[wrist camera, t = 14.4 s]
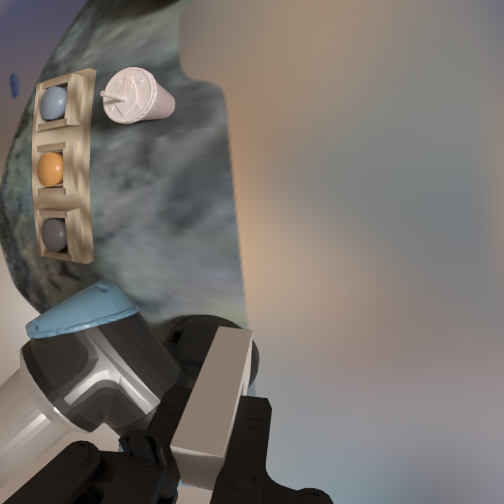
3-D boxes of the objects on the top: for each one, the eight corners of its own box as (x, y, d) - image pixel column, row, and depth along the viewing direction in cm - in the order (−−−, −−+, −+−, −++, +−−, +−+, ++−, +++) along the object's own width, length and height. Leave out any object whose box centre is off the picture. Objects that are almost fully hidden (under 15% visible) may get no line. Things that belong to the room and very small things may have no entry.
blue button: (70, 117, 33) (60, 116, 31) (48, 121, 34) (38, 121, 32) (74, 85, 32) (63, 83, 30) (51, 91, 32) (41, 90, 30)
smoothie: (138, 128, 36) (74, 121, 23) (145, 84, 34) (84, 60, 21) (181, 130, 35) (127, 120, 22) (188, 83, 33) (138, 53, 20)
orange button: (69, 184, 37) (58, 186, 34) (47, 184, 37) (37, 187, 35) (69, 150, 35) (58, 151, 33) (47, 153, 36) (36, 154, 33)
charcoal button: (74, 248, 40) (64, 254, 38) (53, 246, 40) (43, 250, 38) (71, 217, 38) (60, 221, 36) (49, 216, 39) (39, 219, 36)
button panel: (94, 259, 43) (78, 269, 39) (46, 252, 44) (30, 260, 40) (96, 70, 33) (79, 65, 29) (44, 85, 35) (27, 82, 30)
